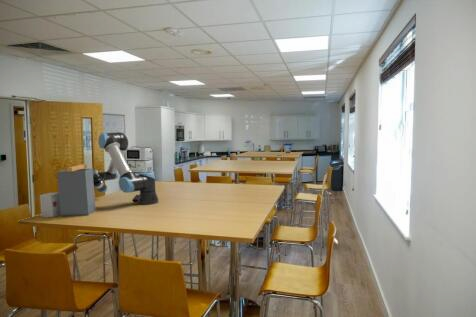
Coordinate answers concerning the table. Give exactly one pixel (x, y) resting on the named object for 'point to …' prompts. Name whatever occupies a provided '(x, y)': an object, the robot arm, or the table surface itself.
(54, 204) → the supplement box
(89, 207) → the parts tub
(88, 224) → the table surface
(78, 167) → the lid strip
